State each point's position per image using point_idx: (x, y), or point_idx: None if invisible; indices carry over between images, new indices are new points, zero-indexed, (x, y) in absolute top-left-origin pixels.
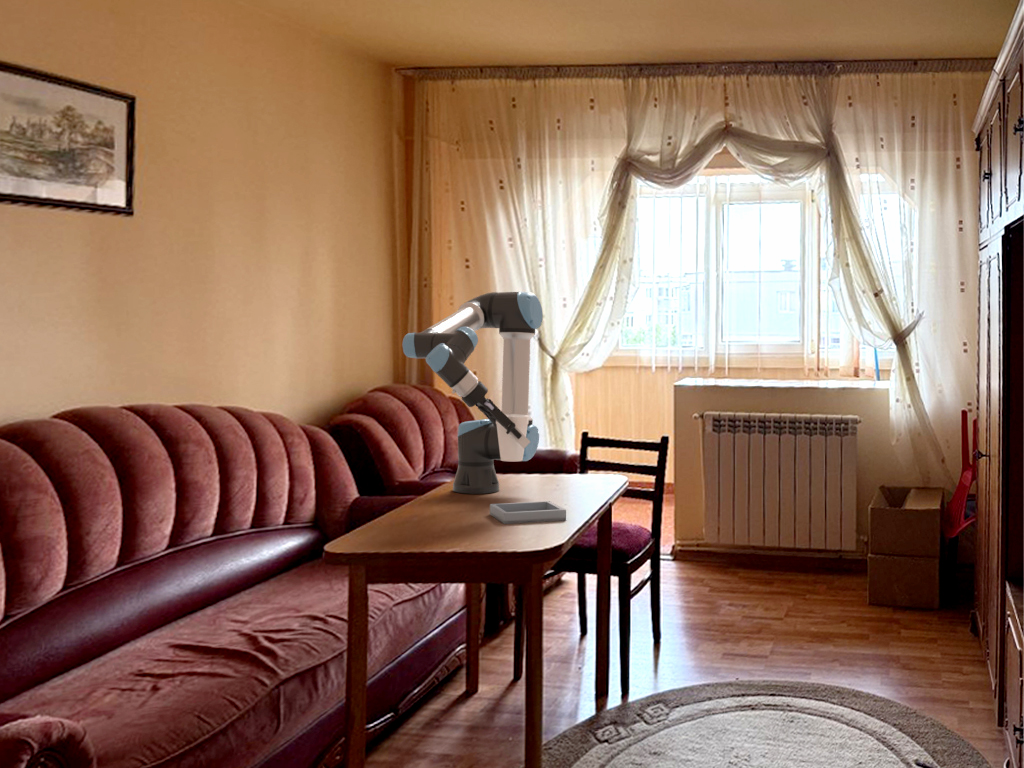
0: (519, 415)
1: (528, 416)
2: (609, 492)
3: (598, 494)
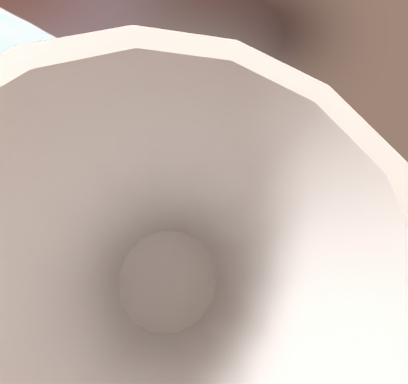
0: (10, 93)
1: (237, 48)
2: (8, 16)
3: (20, 40)
